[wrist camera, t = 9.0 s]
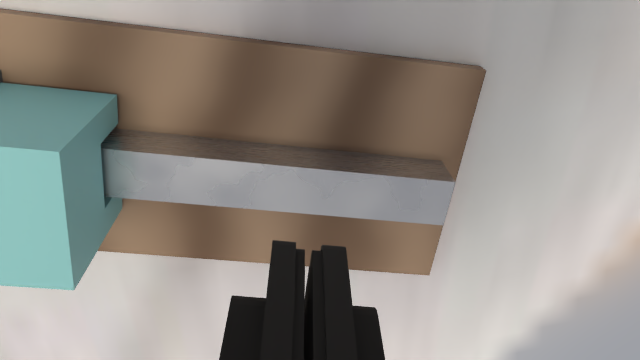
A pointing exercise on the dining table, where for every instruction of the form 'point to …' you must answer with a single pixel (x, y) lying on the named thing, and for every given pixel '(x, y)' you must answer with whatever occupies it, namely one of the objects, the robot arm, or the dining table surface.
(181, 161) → the rail
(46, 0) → the dining table surface
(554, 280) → the dining table surface
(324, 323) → the robot arm
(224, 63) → the board
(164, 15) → the dining table surface
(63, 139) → the slider
